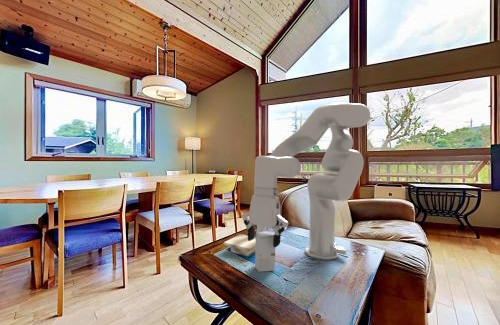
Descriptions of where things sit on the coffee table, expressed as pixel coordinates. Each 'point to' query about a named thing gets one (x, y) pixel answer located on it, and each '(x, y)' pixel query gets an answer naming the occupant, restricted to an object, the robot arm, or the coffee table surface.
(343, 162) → the robot arm
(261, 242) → the skincare box
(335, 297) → the coffee table surface
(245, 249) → the cream square tile
